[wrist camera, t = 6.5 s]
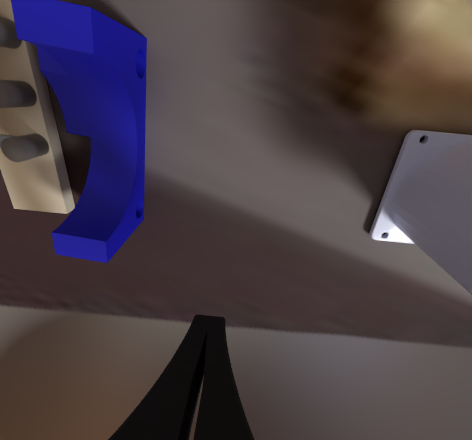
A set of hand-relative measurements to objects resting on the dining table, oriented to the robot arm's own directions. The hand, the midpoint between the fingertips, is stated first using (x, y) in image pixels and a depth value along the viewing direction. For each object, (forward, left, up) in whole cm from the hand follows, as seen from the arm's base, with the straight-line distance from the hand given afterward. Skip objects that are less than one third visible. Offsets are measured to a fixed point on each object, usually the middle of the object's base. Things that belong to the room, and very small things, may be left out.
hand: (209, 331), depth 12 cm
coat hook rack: (+14, -9, -9) cm, 19 cm away
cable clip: (+8, -7, -10) cm, 15 cm away
